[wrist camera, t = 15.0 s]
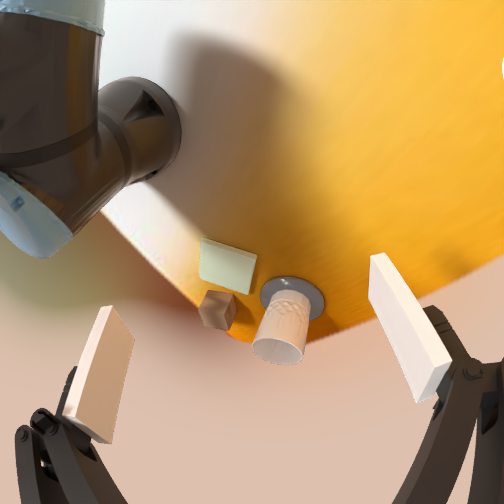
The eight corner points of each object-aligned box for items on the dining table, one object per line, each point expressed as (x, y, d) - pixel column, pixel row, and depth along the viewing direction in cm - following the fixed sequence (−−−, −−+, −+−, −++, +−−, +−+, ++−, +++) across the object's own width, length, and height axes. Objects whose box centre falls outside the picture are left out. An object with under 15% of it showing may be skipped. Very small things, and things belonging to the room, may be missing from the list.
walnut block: (214, 306, 59) (204, 326, 56) (208, 289, 56) (198, 309, 52) (237, 310, 58) (228, 331, 54) (233, 293, 54) (223, 314, 51)
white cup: (308, 321, 52) (297, 369, 45) (266, 310, 53) (249, 357, 46) (319, 293, 47) (308, 346, 39) (271, 281, 48) (253, 332, 41)
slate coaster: (256, 307, 55) (255, 310, 54) (267, 267, 47) (266, 271, 47) (313, 325, 54) (312, 328, 53) (333, 288, 46) (333, 292, 45)
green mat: (201, 274, 53) (199, 278, 53) (203, 237, 47) (200, 241, 46) (249, 290, 52) (247, 295, 52) (257, 254, 46) (255, 259, 45)
